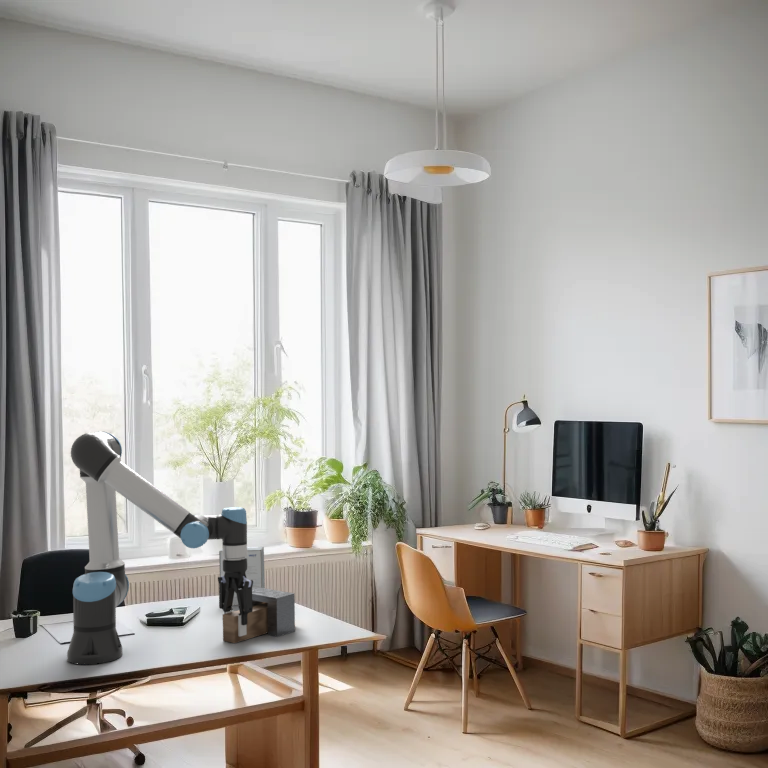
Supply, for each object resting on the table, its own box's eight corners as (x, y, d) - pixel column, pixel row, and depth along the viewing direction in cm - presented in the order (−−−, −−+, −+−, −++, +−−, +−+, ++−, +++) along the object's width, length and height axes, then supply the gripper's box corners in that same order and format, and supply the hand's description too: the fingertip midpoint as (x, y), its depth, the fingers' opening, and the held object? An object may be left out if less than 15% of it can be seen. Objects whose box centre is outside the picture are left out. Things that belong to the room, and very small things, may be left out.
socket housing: (277, 636, 271) (276, 598, 271) (241, 629, 280) (241, 591, 281) (294, 631, 277) (294, 593, 277) (259, 624, 287) (258, 587, 287)
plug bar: (234, 643, 263) (234, 616, 264) (222, 640, 267) (222, 614, 267) (294, 625, 284) (294, 600, 284) (282, 622, 287) (282, 598, 287)
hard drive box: (265, 600, 321) (265, 546, 322) (262, 605, 313) (261, 550, 314) (223, 601, 321) (223, 547, 322) (219, 605, 314) (218, 550, 314)
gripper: (264, 559, 265) (265, 635, 265) (224, 553, 277) (225, 627, 276) (246, 562, 260) (247, 641, 259) (206, 557, 271) (207, 632, 270)
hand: (236, 633), depth 268 cm, fingers closed on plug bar, 5 cm apart
